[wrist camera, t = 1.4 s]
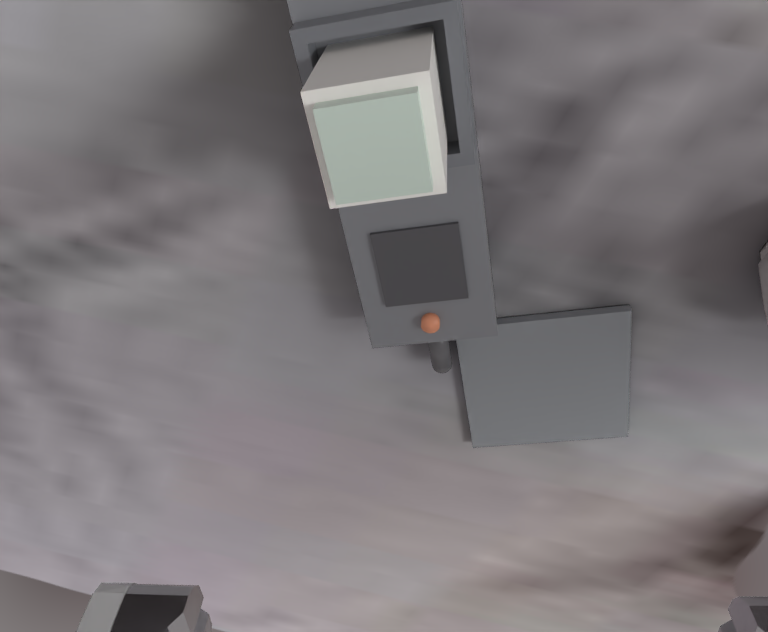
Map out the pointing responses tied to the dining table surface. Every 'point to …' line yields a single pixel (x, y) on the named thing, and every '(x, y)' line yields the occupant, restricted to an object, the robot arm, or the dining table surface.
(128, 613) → the robot arm
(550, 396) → the mat
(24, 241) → the dining table surface
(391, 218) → the power strip
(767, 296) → the potion bottle
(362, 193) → the block
